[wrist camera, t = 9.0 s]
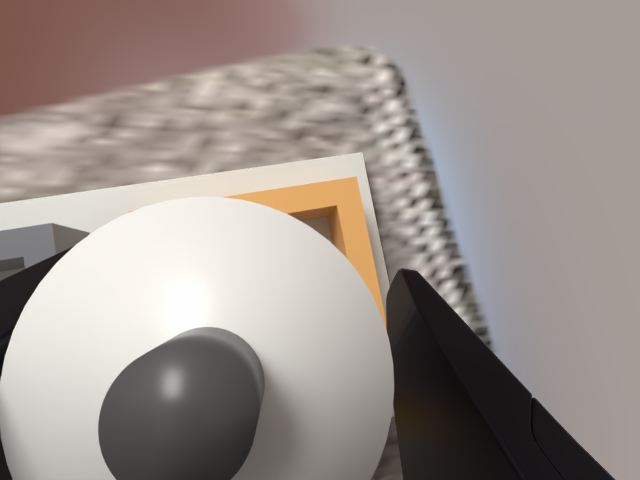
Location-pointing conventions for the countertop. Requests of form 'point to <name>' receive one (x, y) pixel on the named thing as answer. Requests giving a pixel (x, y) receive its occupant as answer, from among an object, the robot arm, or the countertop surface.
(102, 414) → the white bottle
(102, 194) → the dock
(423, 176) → the countertop surface
